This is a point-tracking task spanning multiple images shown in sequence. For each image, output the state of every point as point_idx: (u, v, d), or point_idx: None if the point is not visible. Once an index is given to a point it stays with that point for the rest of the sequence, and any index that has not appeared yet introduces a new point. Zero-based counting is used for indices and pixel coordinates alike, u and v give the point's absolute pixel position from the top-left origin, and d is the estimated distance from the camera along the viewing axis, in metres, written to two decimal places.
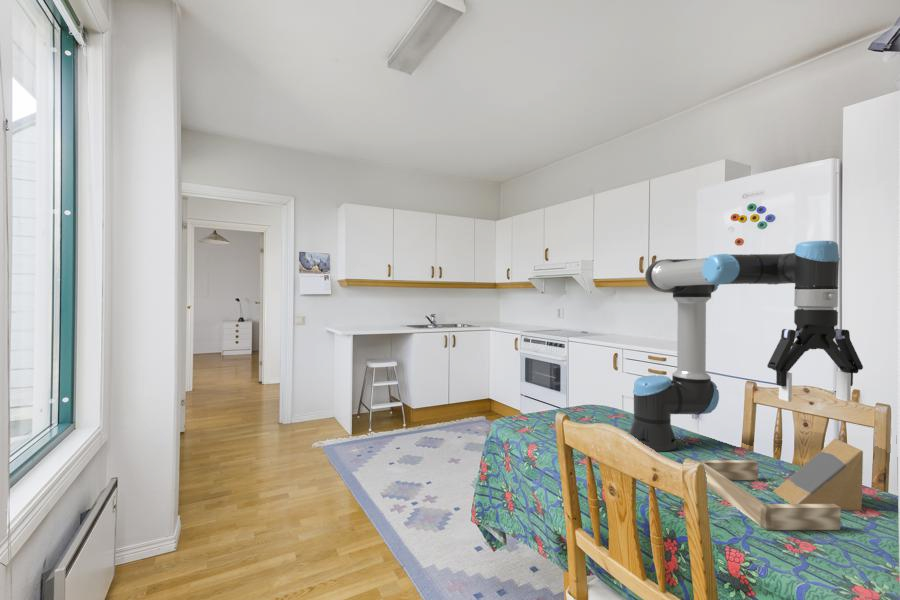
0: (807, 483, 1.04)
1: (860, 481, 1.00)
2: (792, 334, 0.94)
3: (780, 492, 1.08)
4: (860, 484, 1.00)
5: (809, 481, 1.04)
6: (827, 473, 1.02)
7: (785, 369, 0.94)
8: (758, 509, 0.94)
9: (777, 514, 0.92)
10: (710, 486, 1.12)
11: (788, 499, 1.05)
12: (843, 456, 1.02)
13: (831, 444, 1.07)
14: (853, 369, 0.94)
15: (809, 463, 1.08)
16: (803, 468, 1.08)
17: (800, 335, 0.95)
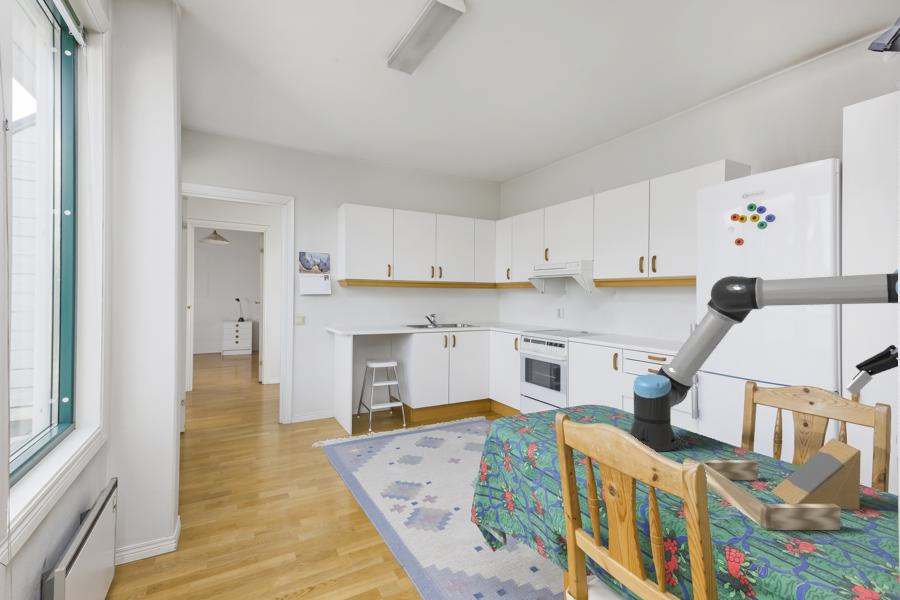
0: (805, 482, 1.04)
1: (858, 480, 1.01)
2: None
3: (778, 492, 1.08)
4: (858, 483, 1.01)
5: (808, 481, 1.04)
6: (825, 473, 1.02)
7: None
8: (758, 509, 0.94)
9: (777, 514, 0.92)
10: (710, 486, 1.12)
11: (787, 499, 1.05)
12: (841, 455, 1.03)
13: (829, 443, 1.08)
14: None
15: (807, 463, 1.08)
16: (801, 468, 1.08)
17: None
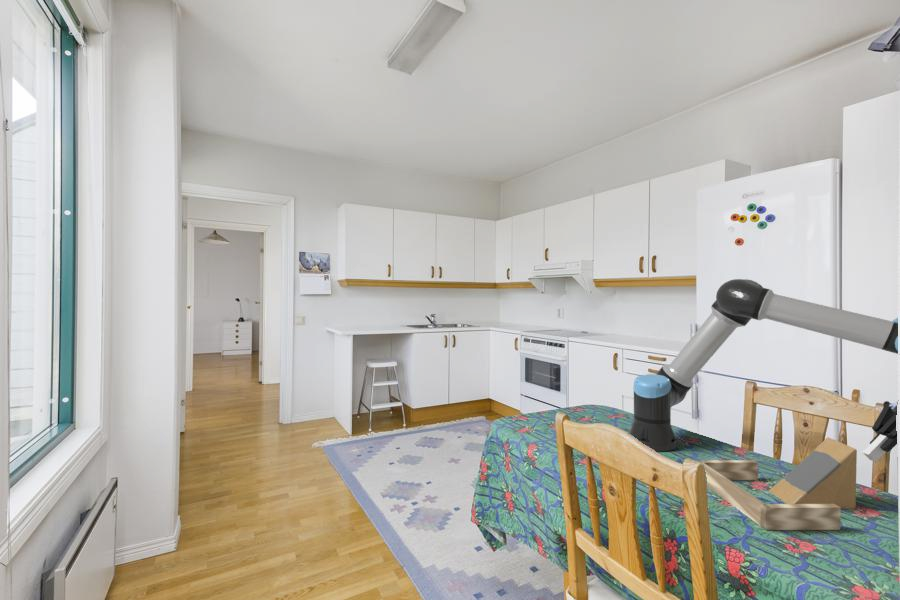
0: (802, 482, 1.05)
1: (854, 479, 1.01)
2: None
3: (776, 492, 1.08)
4: (854, 482, 1.01)
5: (805, 480, 1.04)
6: (822, 472, 1.03)
7: None
8: (758, 509, 0.94)
9: (777, 514, 0.92)
10: (710, 486, 1.12)
11: (784, 499, 1.05)
12: (837, 455, 1.03)
13: (824, 443, 1.08)
14: None
15: (803, 462, 1.09)
16: (798, 467, 1.09)
17: None
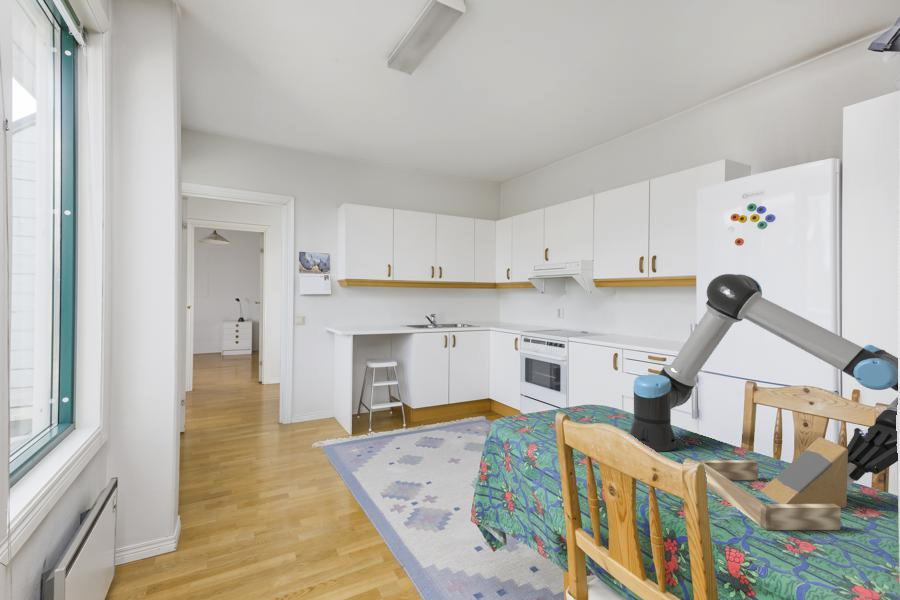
0: (794, 482, 1.05)
1: (845, 479, 1.01)
2: None
3: (768, 491, 1.08)
4: (845, 482, 1.02)
5: (797, 480, 1.05)
6: (814, 471, 1.03)
7: None
8: (758, 509, 0.94)
9: (777, 514, 0.92)
10: (710, 486, 1.12)
11: (776, 498, 1.05)
12: (829, 454, 1.03)
13: (816, 442, 1.09)
14: None
15: (795, 462, 1.09)
16: (789, 467, 1.09)
17: None
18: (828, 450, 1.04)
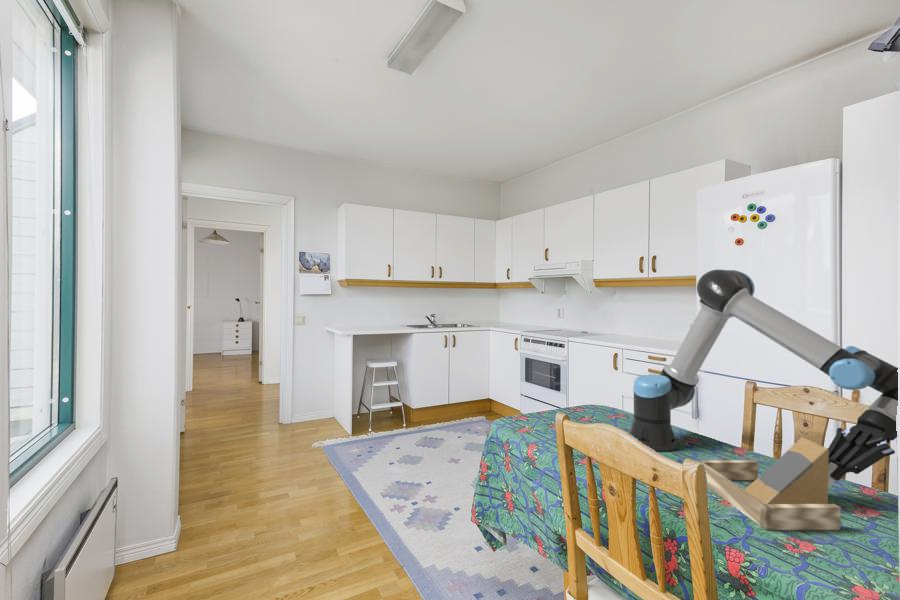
0: (776, 482, 1.05)
1: (826, 479, 1.02)
2: None
3: (750, 492, 1.08)
4: (826, 482, 1.02)
5: (778, 480, 1.05)
6: (795, 472, 1.03)
7: None
8: (758, 509, 0.94)
9: (777, 514, 0.92)
10: (710, 486, 1.12)
11: None
12: (810, 454, 1.03)
13: (798, 442, 1.09)
14: None
15: (777, 462, 1.09)
16: (772, 467, 1.09)
17: (887, 444, 1.01)
18: (809, 450, 1.04)
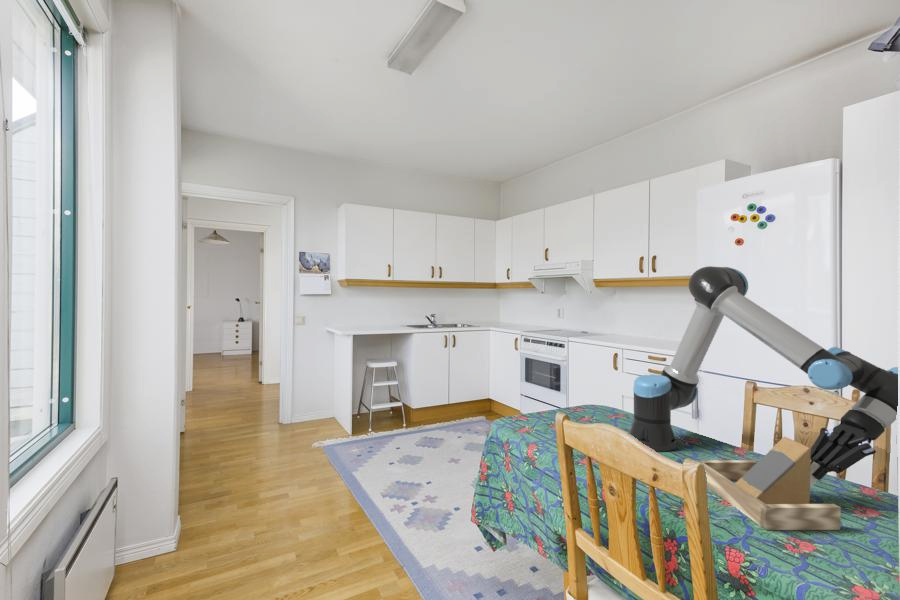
0: (759, 481, 1.05)
1: (808, 478, 1.02)
2: None
3: None
4: (808, 481, 1.02)
5: (761, 480, 1.05)
6: (777, 471, 1.03)
7: None
8: (758, 509, 0.94)
9: (777, 514, 0.92)
10: (710, 486, 1.12)
11: None
12: (792, 454, 1.04)
13: (781, 442, 1.09)
14: None
15: (761, 461, 1.09)
16: (755, 467, 1.09)
17: (868, 444, 1.01)
18: (792, 450, 1.05)
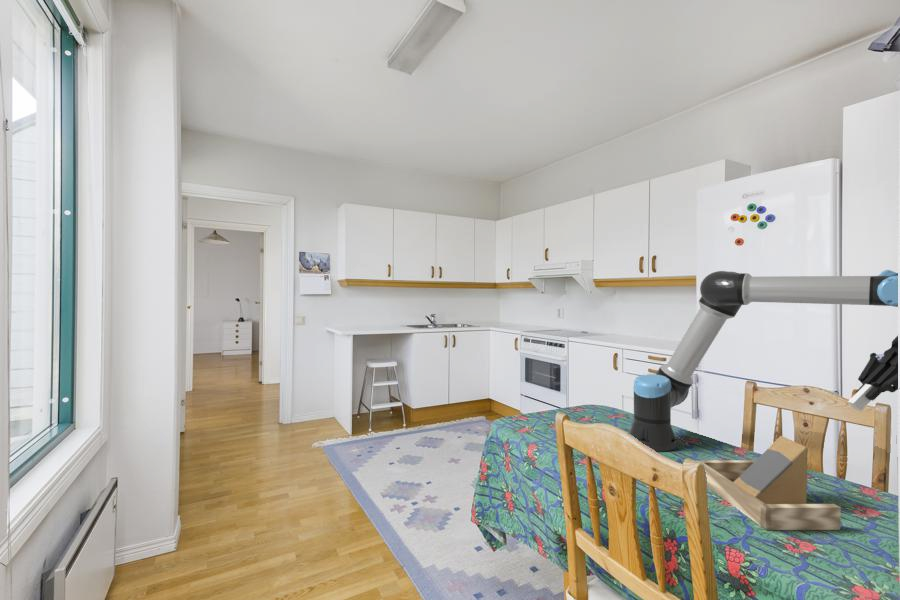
0: (757, 481, 1.05)
1: (805, 477, 1.02)
2: None
3: None
4: (805, 480, 1.02)
5: (759, 479, 1.05)
6: (775, 471, 1.04)
7: None
8: (758, 509, 0.94)
9: (777, 514, 0.92)
10: (710, 486, 1.12)
11: None
12: (789, 453, 1.04)
13: (778, 441, 1.09)
14: None
15: (758, 461, 1.10)
16: (752, 466, 1.10)
17: None
18: (789, 449, 1.05)
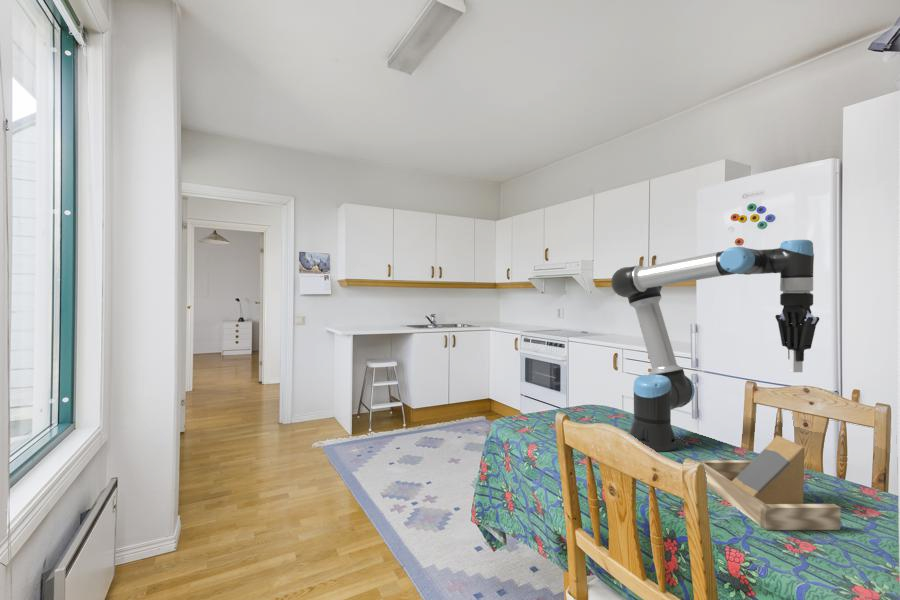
0: (754, 481, 1.05)
1: (802, 477, 1.03)
2: None
3: None
4: (802, 480, 1.03)
5: (756, 479, 1.05)
6: (772, 470, 1.04)
7: None
8: (758, 509, 0.94)
9: (777, 514, 0.92)
10: (710, 486, 1.12)
11: None
12: (786, 453, 1.04)
13: (774, 441, 1.10)
14: None
15: (755, 461, 1.10)
16: (749, 466, 1.10)
17: (810, 313, 1.19)
18: (786, 449, 1.05)
